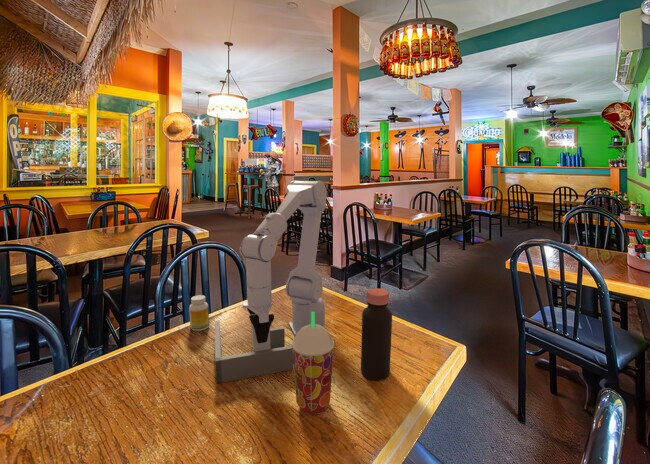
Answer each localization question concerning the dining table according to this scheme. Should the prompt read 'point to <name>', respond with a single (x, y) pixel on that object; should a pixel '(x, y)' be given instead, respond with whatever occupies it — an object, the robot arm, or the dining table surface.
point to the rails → (253, 358)
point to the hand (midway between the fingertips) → (260, 337)
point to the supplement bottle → (199, 313)
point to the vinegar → (376, 336)
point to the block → (257, 345)
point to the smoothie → (313, 367)
